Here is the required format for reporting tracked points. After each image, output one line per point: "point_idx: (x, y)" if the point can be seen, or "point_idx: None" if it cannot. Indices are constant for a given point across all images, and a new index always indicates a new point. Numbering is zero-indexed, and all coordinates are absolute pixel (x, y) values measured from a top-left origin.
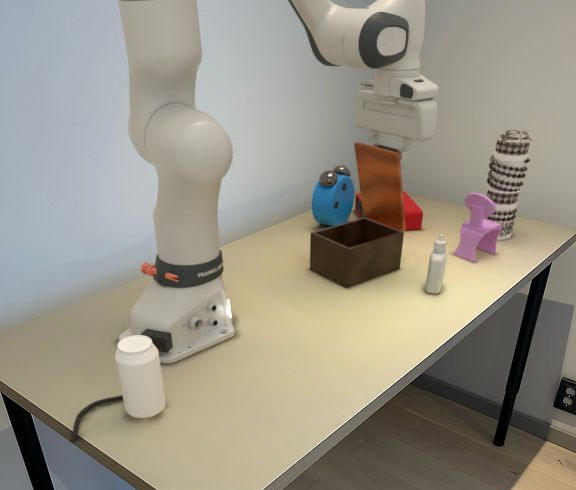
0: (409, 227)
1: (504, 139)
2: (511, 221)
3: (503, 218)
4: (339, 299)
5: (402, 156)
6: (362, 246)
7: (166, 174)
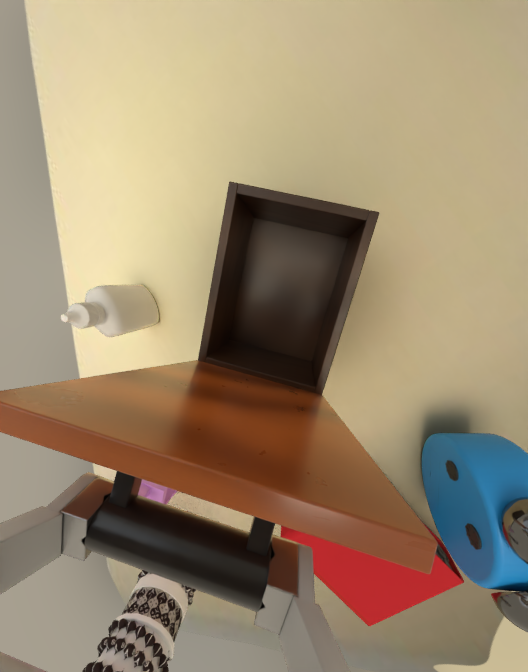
0: None
1: None
2: None
3: None
4: (235, 162)
5: (71, 487)
6: (221, 228)
7: None
